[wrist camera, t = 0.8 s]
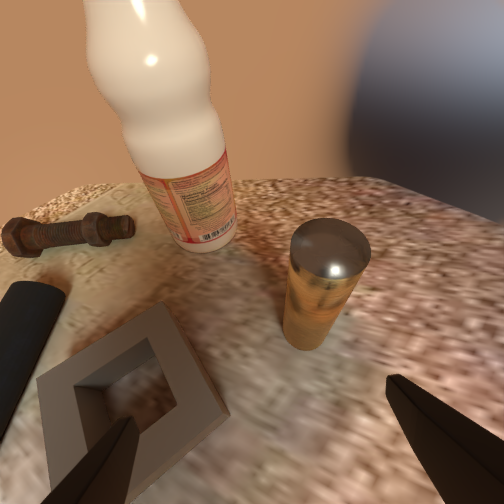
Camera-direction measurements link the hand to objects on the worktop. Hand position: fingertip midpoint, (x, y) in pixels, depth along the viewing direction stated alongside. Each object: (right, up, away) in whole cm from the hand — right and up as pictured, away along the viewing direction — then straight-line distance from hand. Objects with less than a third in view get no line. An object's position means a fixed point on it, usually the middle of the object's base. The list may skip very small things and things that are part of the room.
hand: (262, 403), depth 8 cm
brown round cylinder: (+5, -3, +16) cm, 17 cm away
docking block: (-10, -8, +14) cm, 19 cm away
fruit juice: (-7, +8, +26) cm, 28 cm away
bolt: (-24, +6, +26) cm, 36 cm away
